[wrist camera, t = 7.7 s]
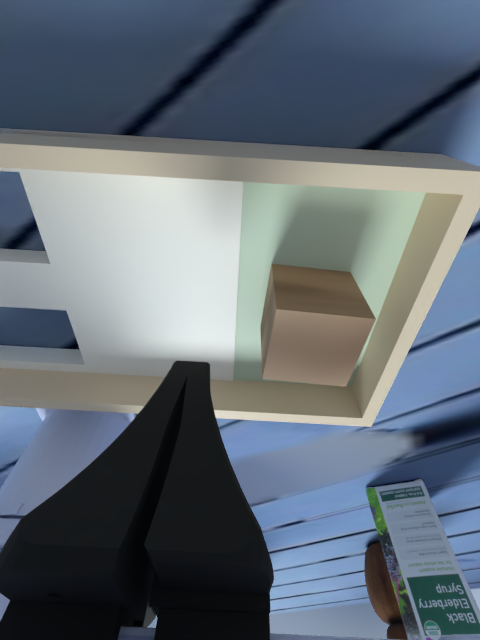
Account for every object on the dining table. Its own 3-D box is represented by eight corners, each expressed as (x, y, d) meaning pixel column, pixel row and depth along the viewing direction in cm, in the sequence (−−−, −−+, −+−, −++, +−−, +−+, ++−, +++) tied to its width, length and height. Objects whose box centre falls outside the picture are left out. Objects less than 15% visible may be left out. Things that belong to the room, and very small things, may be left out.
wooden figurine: (371, 533, 40) (424, 728, 27) (415, 538, 40) (486, 732, 28) (352, 552, 43) (390, 730, 31) (391, 556, 44) (444, 733, 32)
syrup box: (422, 477, 31) (525, 710, 19) (426, 503, 34) (516, 716, 23) (363, 486, 33) (426, 708, 21) (372, 510, 36) (431, 714, 24)
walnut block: (329, 333, 19) (345, 386, 16) (260, 327, 19) (262, 378, 15) (350, 271, 16) (376, 319, 13) (271, 263, 16) (276, 309, 13)
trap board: (354, 380, 23) (371, 426, 20) (-23, 358, 23) (-68, 402, 20) (441, 154, 14) (496, 172, 11) (-172, 117, 14) (-295, 125, 11)
